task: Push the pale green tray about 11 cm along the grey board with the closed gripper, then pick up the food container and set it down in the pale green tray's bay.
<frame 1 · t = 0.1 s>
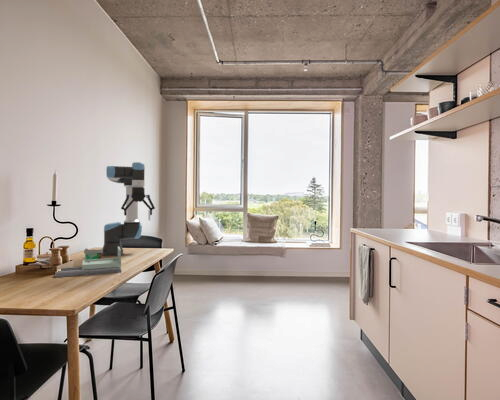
hand: (138, 220, 215), 28 cm above the table, fingers open, 13 cm apart
grey board: (89, 271, 195), on the table
food container: (90, 265, 212), on the table
pale green tray: (101, 257, 197), point 7 cm above the table, slide at 0.0 cm
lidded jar: (47, 268, 204), on the table
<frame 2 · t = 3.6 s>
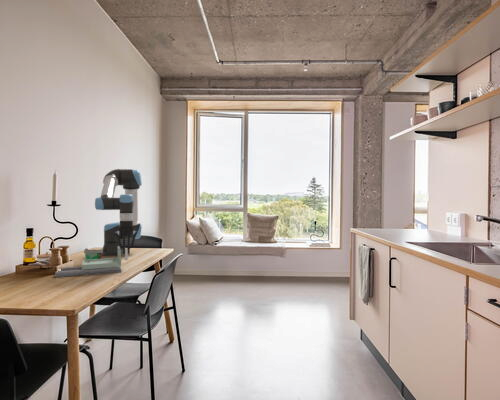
hand: (126, 259, 203), 5 cm above the table, fingers closed
pale green tray: (101, 257, 197), point 8 cm above the table, slide at 0.0 cm, touching gripper
everything else where it was.
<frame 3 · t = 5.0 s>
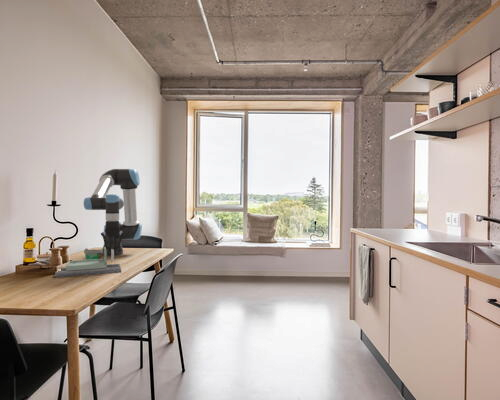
hand: (112, 260, 200), 5 cm above the table, fingers closed
pale green tray: (87, 258, 194), point 8 cm above the table, slide at 7.6 cm, touching gripper
everything else where it was.
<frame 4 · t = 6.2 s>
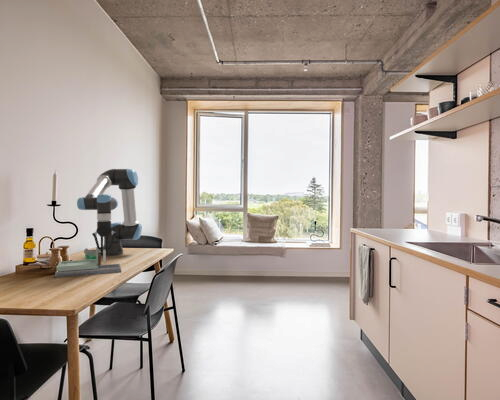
hand: (104, 261, 198), 5 cm above the table, fingers closed
pale green tray: (78, 259, 192), point 8 cm above the table, slide at 12.0 cm, touching gripper
everything else where it was.
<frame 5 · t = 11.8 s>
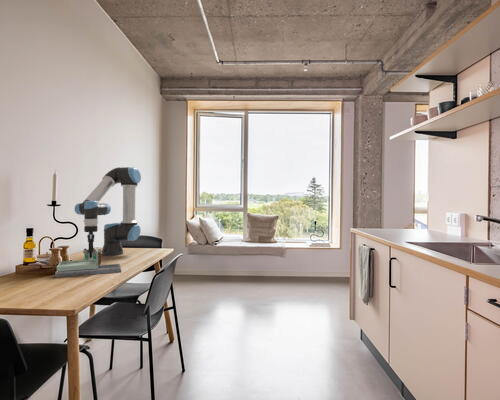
hand: (90, 261, 212), 2 cm above the table, fingers closed on food container, 9 cm apart
food container: (90, 265, 212), on the table, touching gripper
pale green tray: (78, 259, 192), point 7 cm above the table, slide at 12.0 cm
everything else where it was.
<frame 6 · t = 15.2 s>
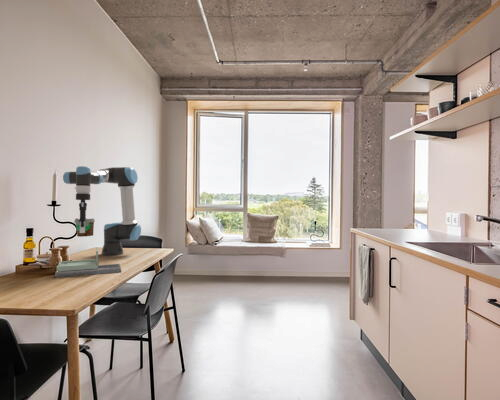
hand: (82, 232, 197), 22 cm above the table, fingers closed on food container, 8 cm apart
food container: (82, 236, 197), point 20 cm above the table, touching gripper
everything else where it was.
when the fingers open (8 cm above the table, at t = 18.6 s): food container drops 1 cm, resting on pale green tray.
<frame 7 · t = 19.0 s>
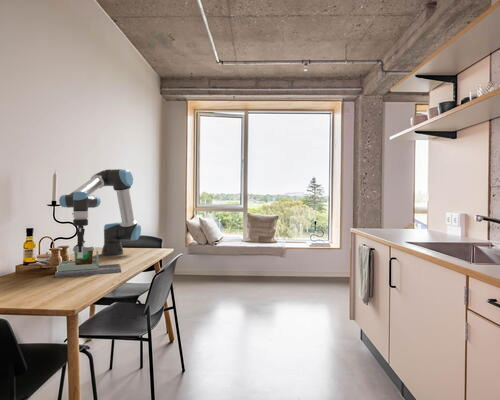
hand: (80, 256, 193), 9 cm above the table, fingers open, 13 cm apart
food container: (80, 264, 192), point 4 cm above the table, touching pale green tray
pale green tray: (79, 259, 192), point 7 cm above the table, slide at 11.8 cm, touching food container
everything else where it was.
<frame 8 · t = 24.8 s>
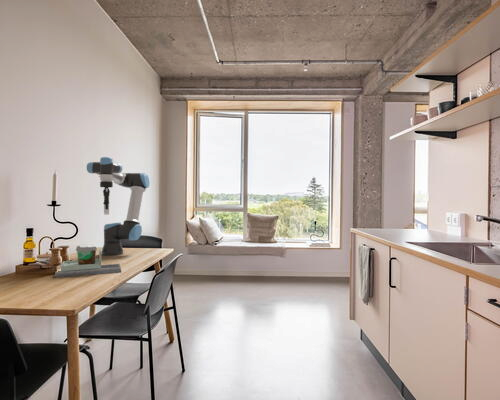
hand: (106, 214, 220), 32 cm above the table, fingers open, 13 cm apart
food container: (83, 264, 193), point 4 cm above the table, touching pale green tray
pale green tray: (81, 259, 193), point 8 cm above the table, slide at 10.3 cm, touching food container
everything else where it was.
at the end: pale green tray slide at 10.3 cm; food container inside the target area on the pale green tray (2.1 cm from its centre), point 4.3 cm above the pale green tray's base; food container tilted 0° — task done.
